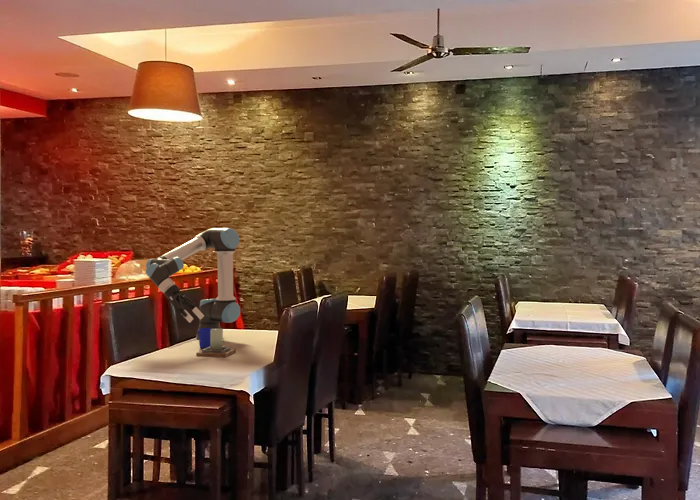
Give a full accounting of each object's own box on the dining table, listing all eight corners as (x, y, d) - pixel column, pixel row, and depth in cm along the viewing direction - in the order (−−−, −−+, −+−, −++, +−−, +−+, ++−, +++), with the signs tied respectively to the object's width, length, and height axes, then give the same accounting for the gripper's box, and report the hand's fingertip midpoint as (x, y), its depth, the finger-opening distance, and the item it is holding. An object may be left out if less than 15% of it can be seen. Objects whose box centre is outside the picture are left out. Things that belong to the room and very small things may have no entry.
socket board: (208, 350, 316) (208, 345, 316) (235, 352, 314) (235, 346, 314) (196, 355, 301) (196, 350, 301) (225, 357, 299) (225, 351, 299)
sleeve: (213, 349, 311) (213, 328, 311) (224, 350, 310) (224, 328, 310) (208, 351, 305) (208, 329, 305) (219, 352, 304) (220, 330, 304)
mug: (218, 345, 332) (218, 327, 332) (211, 349, 320) (211, 330, 320) (203, 345, 333) (204, 326, 333) (196, 348, 321) (196, 330, 321)
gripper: (175, 292, 324) (201, 321, 322) (153, 295, 299) (181, 327, 297) (184, 282, 323) (211, 311, 321) (163, 285, 298) (192, 317, 296)
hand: (197, 319), depth 309 cm, fingers open, 13 cm apart
